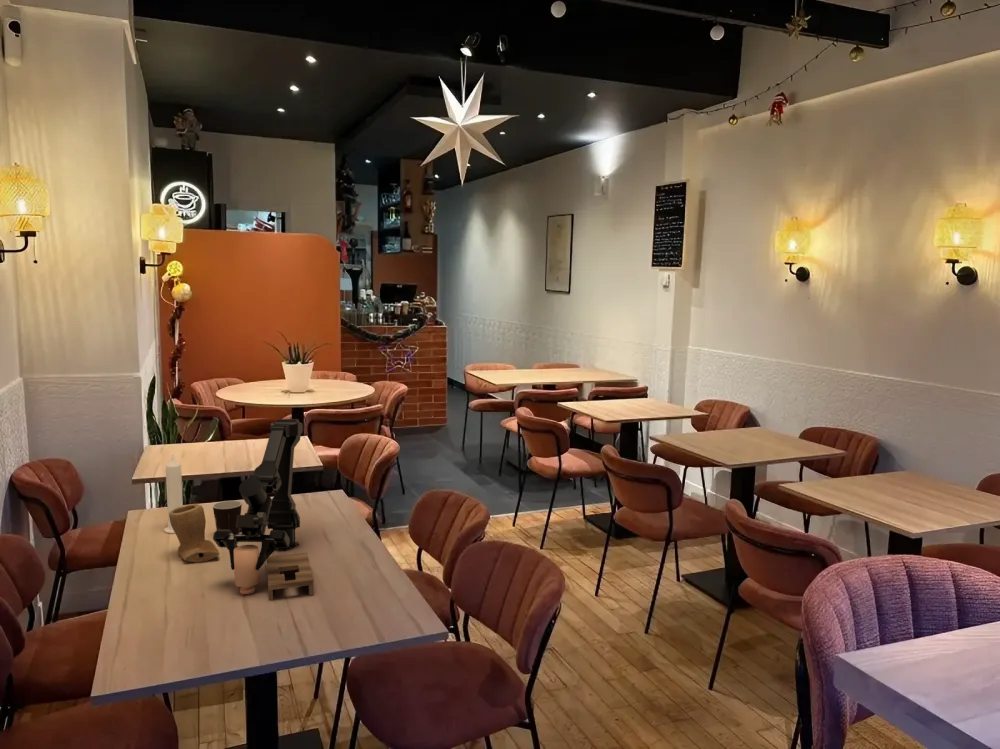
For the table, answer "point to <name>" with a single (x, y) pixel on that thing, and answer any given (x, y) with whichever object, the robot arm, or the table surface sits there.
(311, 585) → the walnut keyhole board
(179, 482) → the candle
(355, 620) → the table surface
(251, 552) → the terracotta peg
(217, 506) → the coffee mug
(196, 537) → the stone cup
